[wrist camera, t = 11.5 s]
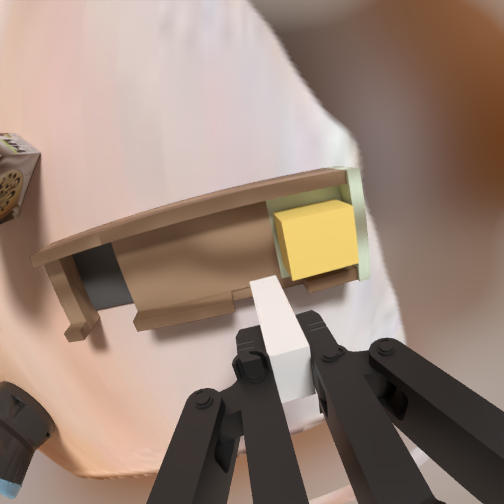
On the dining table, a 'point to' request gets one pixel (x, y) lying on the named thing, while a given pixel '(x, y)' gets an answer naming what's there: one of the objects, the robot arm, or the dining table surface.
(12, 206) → the coffee box
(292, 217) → the block
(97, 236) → the box
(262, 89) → the dining table surface
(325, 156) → the dining table surface
